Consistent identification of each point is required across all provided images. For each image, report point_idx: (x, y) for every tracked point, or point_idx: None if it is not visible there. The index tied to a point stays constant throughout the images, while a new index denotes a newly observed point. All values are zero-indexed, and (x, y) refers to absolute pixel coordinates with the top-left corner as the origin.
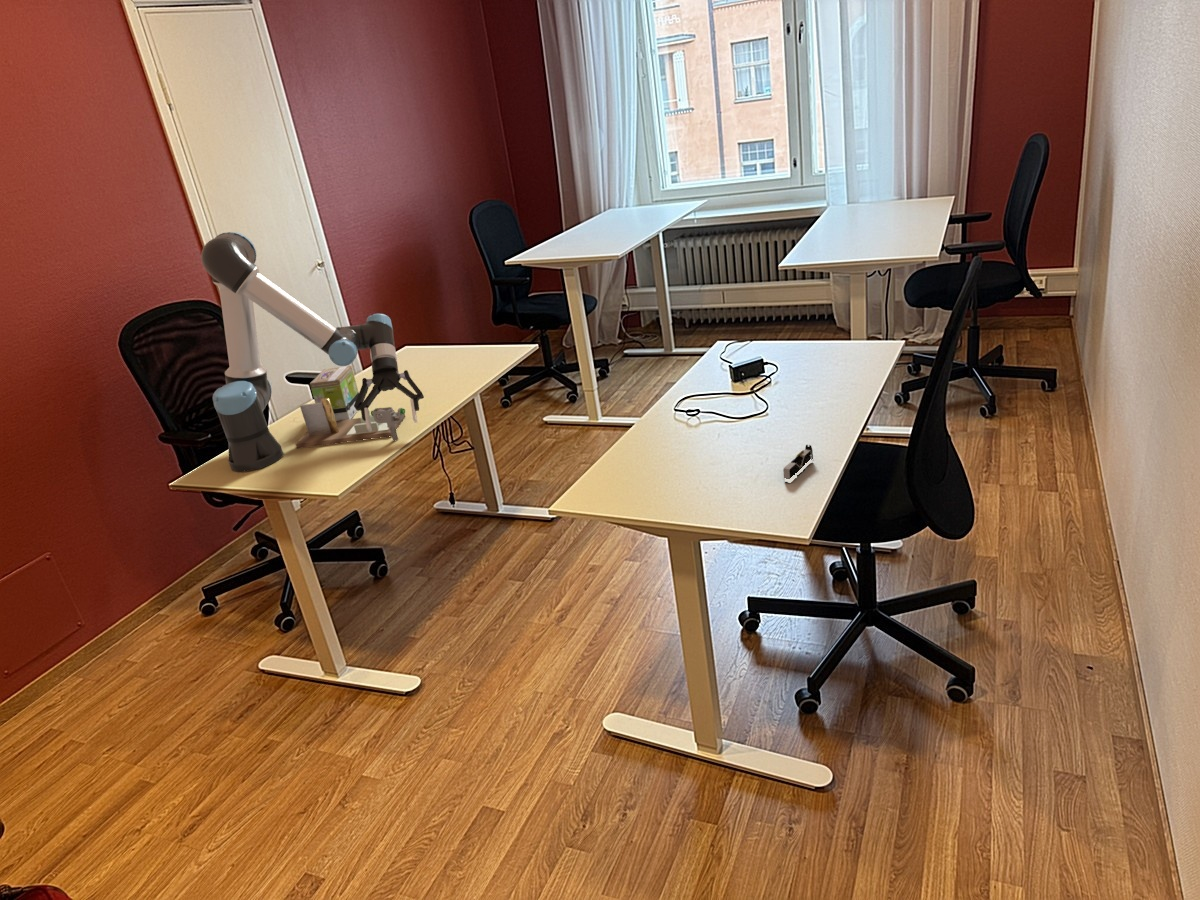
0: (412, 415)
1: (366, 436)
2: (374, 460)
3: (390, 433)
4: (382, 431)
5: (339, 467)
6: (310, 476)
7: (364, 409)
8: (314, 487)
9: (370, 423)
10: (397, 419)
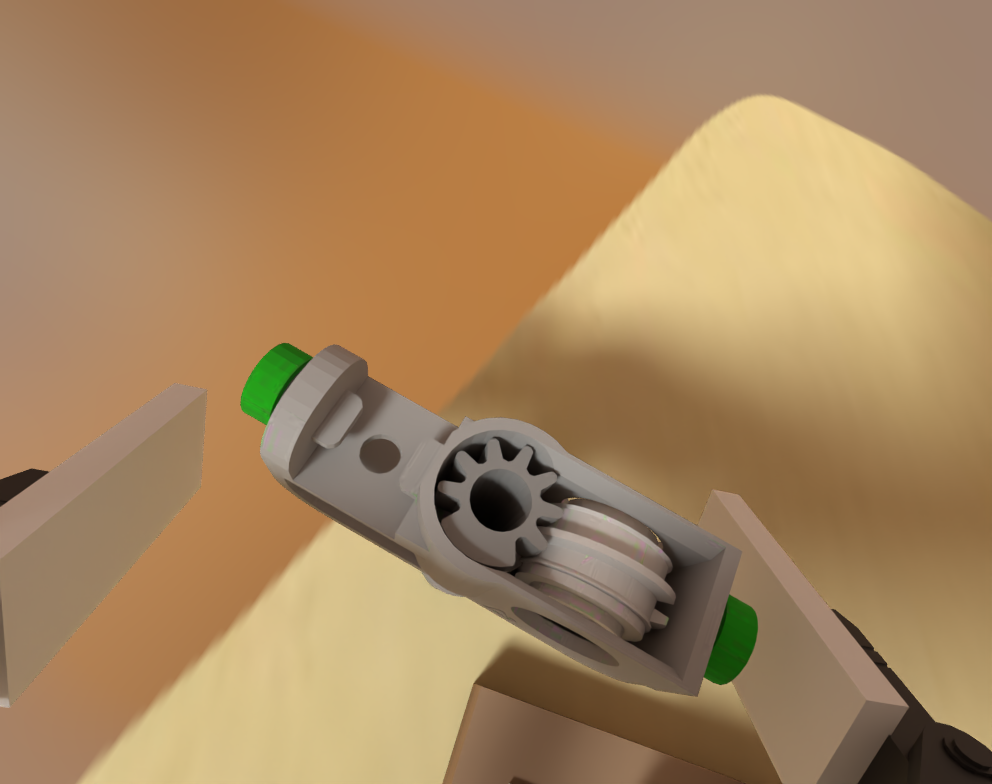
0: (184, 407)
1: (720, 775)
2: (609, 282)
3: (484, 688)
4: (564, 779)
5: (818, 326)
6: (959, 316)
7: (888, 682)
8: (887, 175)
9: None
10: (387, 468)
